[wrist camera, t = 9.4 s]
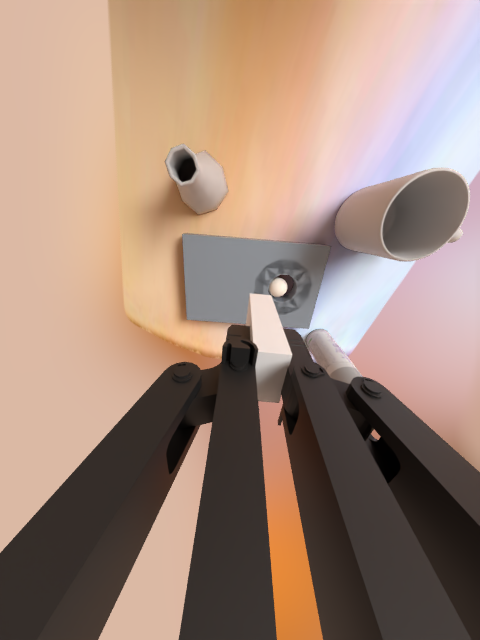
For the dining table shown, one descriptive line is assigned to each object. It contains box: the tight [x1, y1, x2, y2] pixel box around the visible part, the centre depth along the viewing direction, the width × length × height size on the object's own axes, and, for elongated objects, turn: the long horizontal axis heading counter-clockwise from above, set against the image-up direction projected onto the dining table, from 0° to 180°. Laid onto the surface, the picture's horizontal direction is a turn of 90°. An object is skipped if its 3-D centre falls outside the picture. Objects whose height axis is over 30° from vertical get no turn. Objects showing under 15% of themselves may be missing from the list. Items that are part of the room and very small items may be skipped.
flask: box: [165, 144, 228, 215], centre depth 23 cm, size 7×7×10 cm
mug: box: [335, 168, 470, 261], centre depth 24 cm, size 12×8×11 cm
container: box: [306, 329, 363, 384], centre depth 32 cm, size 5×5×15 cm
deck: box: [182, 233, 331, 329], centre depth 32 cm, size 14×22×2 cm, turn 86°
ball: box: [268, 278, 287, 297], centre depth 32 cm, size 3×3×3 cm
